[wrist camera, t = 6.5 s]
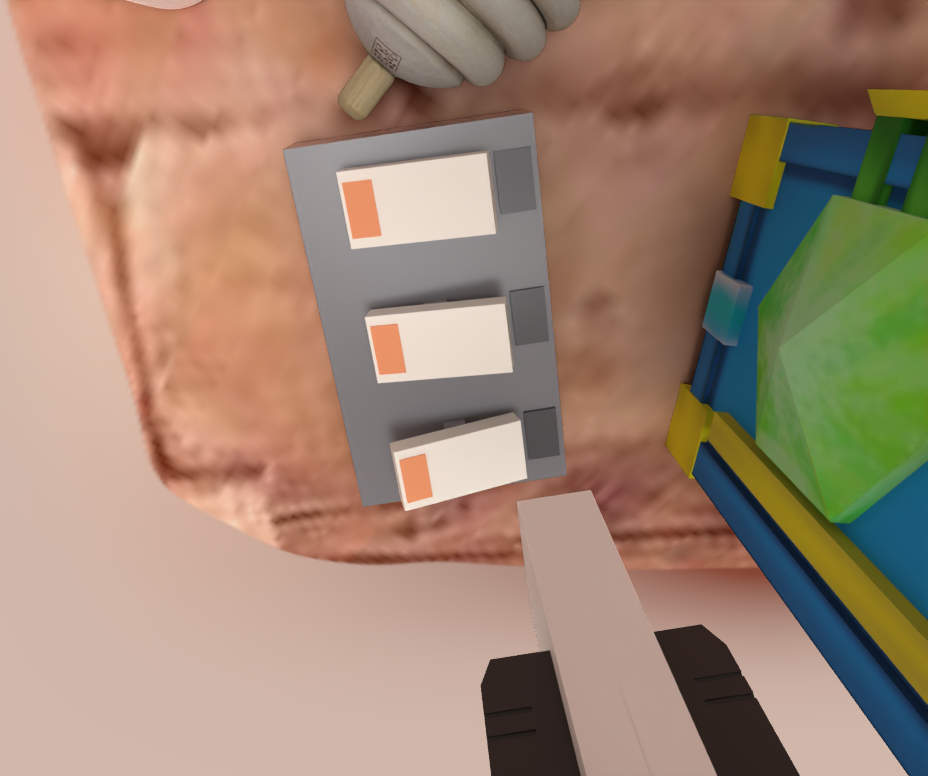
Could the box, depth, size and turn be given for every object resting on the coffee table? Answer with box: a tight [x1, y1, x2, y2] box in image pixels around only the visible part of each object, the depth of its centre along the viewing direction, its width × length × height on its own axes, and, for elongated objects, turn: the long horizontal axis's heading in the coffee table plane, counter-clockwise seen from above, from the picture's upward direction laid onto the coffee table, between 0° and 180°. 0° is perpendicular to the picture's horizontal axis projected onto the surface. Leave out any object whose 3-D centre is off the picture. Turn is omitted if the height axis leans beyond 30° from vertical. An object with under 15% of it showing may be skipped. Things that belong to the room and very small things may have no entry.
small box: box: [390, 412, 527, 511], centre depth 40 cm, size 7×4×2 cm, turn 98°
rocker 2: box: [365, 296, 514, 383], centre depth 37 cm, size 7×4×2 cm, turn 98°
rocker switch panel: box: [283, 109, 567, 507], centre depth 40 cm, size 12×20×5 cm, turn 8°
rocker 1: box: [336, 150, 498, 249], centre depth 34 cm, size 7×4×2 cm, turn 98°
